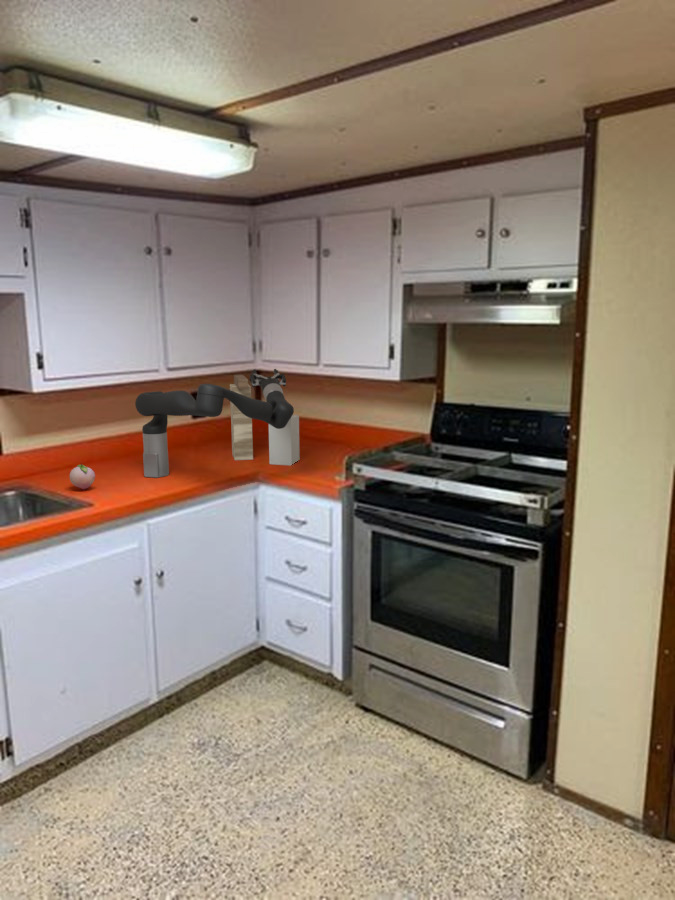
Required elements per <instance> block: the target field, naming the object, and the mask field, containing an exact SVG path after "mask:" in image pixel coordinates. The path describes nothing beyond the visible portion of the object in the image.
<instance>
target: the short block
mask: <svg viewBox="0 0 675 900" xmlns="http://www.w3.org/2000/svg"><path fill="white" fill-rule="evenodd" d="M268 454H269V455H268V457H269V460H268V461H269V465H278V466H291V465H292V464H293V465H295V464H296V463H295V462H297V461H298V460H300V416H299V414H293V415H292V417H291V418H290V420H289V421H288V423H287V425H286V426H285V427H284V428H282V429H277V428H275V427H273V426H271V425H270V424H268ZM298 462H299V461H298ZM298 462H297V463H298ZM294 463H295V464H294ZM293 465H292V466H293Z"/></svg>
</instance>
